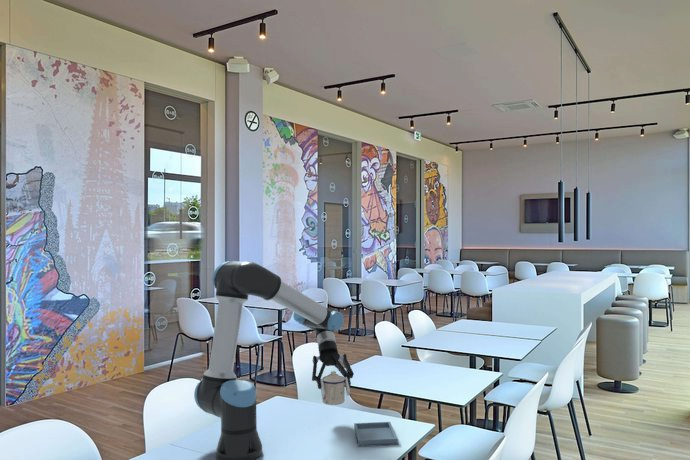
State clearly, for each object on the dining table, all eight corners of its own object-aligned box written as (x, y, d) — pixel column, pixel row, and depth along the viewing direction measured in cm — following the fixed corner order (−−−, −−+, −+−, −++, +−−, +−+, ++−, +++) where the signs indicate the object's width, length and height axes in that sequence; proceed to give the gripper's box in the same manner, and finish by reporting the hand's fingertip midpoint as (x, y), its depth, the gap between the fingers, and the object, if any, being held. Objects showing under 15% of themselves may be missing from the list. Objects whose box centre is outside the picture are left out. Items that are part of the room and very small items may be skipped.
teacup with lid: (323, 398, 205) (323, 368, 206) (345, 398, 205) (345, 369, 205) (319, 407, 193) (319, 376, 194) (343, 408, 193) (343, 376, 193)
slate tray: (358, 446, 177) (358, 440, 177) (354, 428, 194) (354, 423, 194) (397, 444, 178) (397, 438, 178) (390, 426, 195) (390, 421, 195)
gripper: (351, 348, 217) (361, 397, 201) (299, 351, 212) (306, 402, 196) (354, 338, 212) (365, 387, 196) (301, 341, 207) (309, 392, 191)
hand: (336, 394), depth 196 cm, fingers closed on teacup with lid, 9 cm apart
